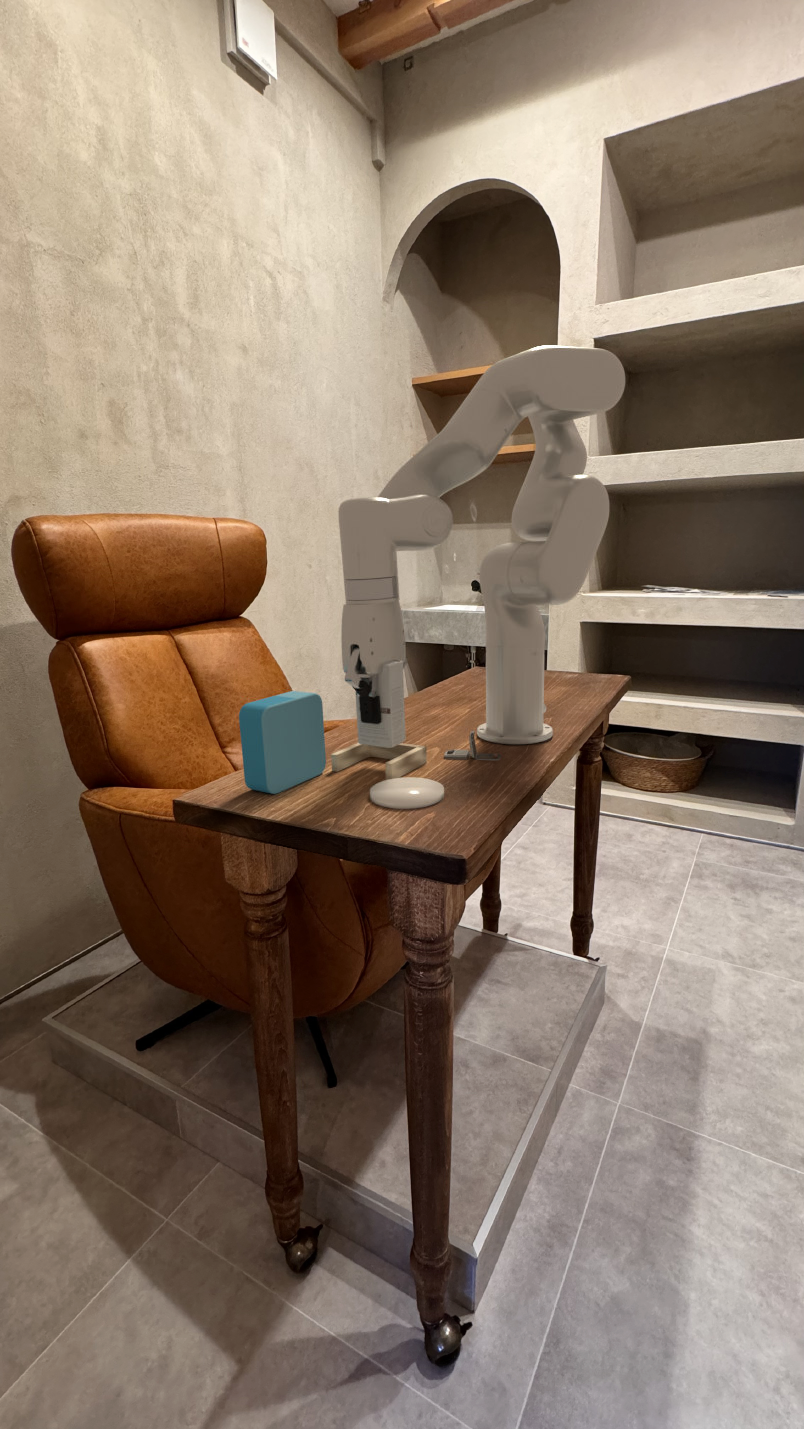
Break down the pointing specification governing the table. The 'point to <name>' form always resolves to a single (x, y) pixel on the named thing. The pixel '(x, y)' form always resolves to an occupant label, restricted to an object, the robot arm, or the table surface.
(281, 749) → the data package
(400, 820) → the table surface
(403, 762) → the stand
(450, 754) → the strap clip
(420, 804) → the ceramic coaster
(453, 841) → the table surface
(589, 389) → the robot arm
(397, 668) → the skincare box
